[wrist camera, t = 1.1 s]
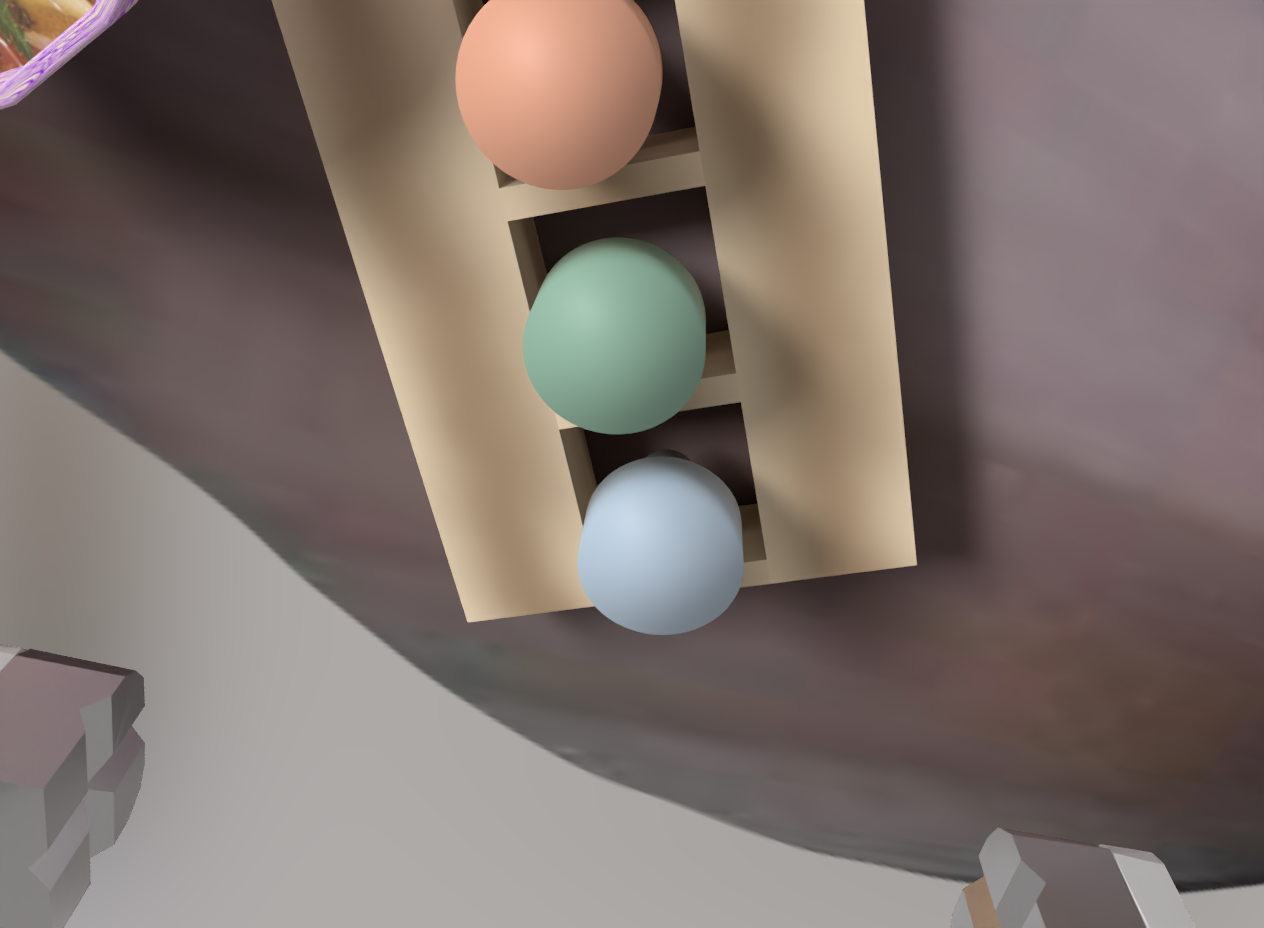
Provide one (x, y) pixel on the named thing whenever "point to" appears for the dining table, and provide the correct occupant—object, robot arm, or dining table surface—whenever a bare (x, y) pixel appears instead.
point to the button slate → (661, 545)
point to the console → (514, 271)
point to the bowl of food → (47, 38)
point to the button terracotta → (559, 87)
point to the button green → (616, 336)
